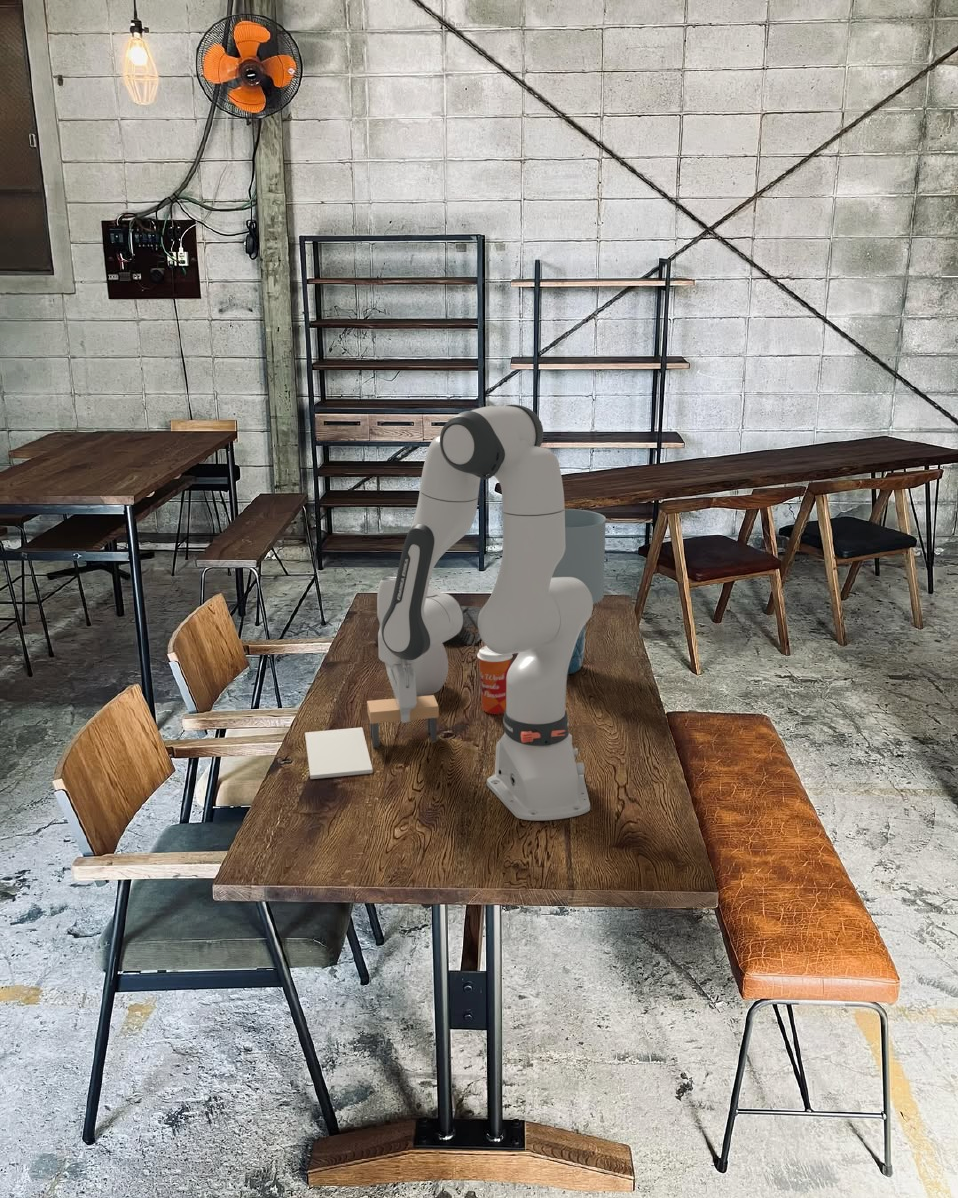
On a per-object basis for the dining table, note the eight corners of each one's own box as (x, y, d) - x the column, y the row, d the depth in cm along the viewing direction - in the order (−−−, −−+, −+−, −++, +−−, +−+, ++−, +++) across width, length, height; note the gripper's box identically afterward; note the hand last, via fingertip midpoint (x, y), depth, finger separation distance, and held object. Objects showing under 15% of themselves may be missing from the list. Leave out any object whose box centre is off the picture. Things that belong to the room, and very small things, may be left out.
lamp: (540, 650, 270) (541, 505, 258) (612, 662, 262) (617, 513, 250) (509, 676, 253) (509, 522, 242) (584, 689, 245) (588, 531, 234)
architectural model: (476, 653, 274) (495, 623, 302) (479, 631, 272) (498, 603, 301) (412, 643, 276) (437, 614, 305) (414, 620, 274) (439, 593, 303)
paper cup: (471, 712, 233) (470, 652, 229) (487, 699, 240) (487, 641, 236) (503, 718, 230) (503, 658, 226) (518, 706, 236) (518, 647, 232)
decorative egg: (436, 676, 254) (434, 616, 250) (457, 693, 243) (456, 632, 239) (388, 684, 249) (386, 624, 245) (407, 703, 238) (405, 640, 234)
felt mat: (372, 773, 206) (372, 769, 206) (310, 779, 204) (310, 775, 203) (362, 730, 225) (362, 727, 224) (305, 736, 222) (304, 732, 222)
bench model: (434, 730, 225) (433, 695, 222) (439, 742, 219) (438, 706, 217) (368, 736, 222) (367, 700, 219) (371, 748, 216) (370, 712, 214)
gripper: (423, 666, 205) (424, 731, 210) (408, 631, 224) (410, 691, 229) (391, 669, 204) (393, 734, 208) (379, 633, 223) (380, 694, 228)
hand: (401, 711), depth 219 cm, fingers open, 8 cm apart
